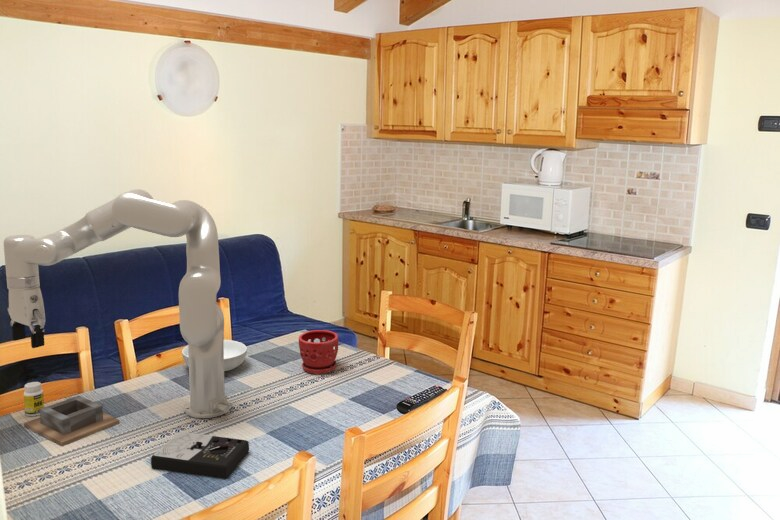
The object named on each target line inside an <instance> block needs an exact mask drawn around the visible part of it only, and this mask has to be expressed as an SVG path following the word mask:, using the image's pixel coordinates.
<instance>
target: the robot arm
mask: <svg viewBox="0 0 780 520" xmlns="http://www.w3.org/2000/svg"><path fill="white" fill-rule="evenodd" d="M130 228H133V229H137V230H140V231H145V232H149V233H151V234H156V235H160V236H163V237H169V238H180V237H183V236H186V237H185V238H186V248H185V249H186V250H185V253H186V254H185V255H186V272H185V275H183V277H182V279H181V280H180V282H179V287H178V310H179V330H180V334H181V336H182V338H183V339H184V341H185V342H187V346H188V354H189V366H188V379H189V380H188V383H189V384H188V385H189V402H187V403H186V404H185V406H184V412H185V414H186V415H187V416H189V417H192V418H196V419H209V418H211V419H212V418H216V417H220V416H222V415H224V414H227V413H229V411H230V409H231V408H232V407H233V403H232V402H231V401H230V400H229V399H228V395H226V393H225V391H226V390H225V372H224V340H225V338H224V337H225V335H224V334H225V333H224V332H225V317H224V312H223V310H222V308H221V306H220V305H219V304H218V303H217V294H218V292H219V290H220V288H221V283H222V282H221V280H222V279H221V272H220V271H221V269H220V268H221V267H220V266H221V265H220V249H219V234H218V229H217V225H216V222H215V220H214V218H213V216H212V215H211V213H210V212H209V210H207V209H206V208H205V207H203V206H202V205H200V204H199V203H197V202H194V201H191V200H187V199H182V200H177V201H174V202H172V203H170V202H164V201H160V200H156V199H154V197H153V196H152V195H151V194H150V193H149V192H148V191H147V190H143V189H140V188H139V189H137V188H136V189H131V190H128V191H125V192H123V193H120V194H119V195H118V196H116V197H115V198H113V199H111V200H110V201H107V202H106V203H104V204H101V205H99V206H97V207H95V208H94V209H91V210H90V211H88V212H86V214H85V215H84V216H83V217H82V218H80V219H78V220H77V221H75V222H73V223H71V224H70V225H68V226H65V227H63V228H61V229H59V230H57V231H55V232H53V233H49V234H47V235H44V236H41V237H37V238H36V237H34V236H33V235H31V234H16V235H14V234H13V235H10V236H7V237H5V238H4V240H3V253H4V254H3V255H4V264H5V275H6V278H5V279H6V287H7V290H8V307H7V312H8V315H9V316H8V319H9V320H10V323H9V324H10V327H11V336H12V337H11V338H12V341H14V342H15V341H19V340H24V339H26V327H25V326H28V327H29V330H30V331H31V333H30V343H31V344H30V345H31V348H32V349H35V348H40V347H45V328H46V313H45V306H44V305H45V303H44V298H43V294H42V290H41V287H40V286H41V285H40V284H41V283H40V272H39V271H40V270H39V266H44V267H45V266H46V267H48V266H53V265H56V264H57V263H60V262H61V261H64V260H65V259H67V258H69V257H71V256H73V255H75V254H77V253H79V252H82V251H83V250H85V249H86V248H89V247H90V246H93V245H95V244H96V243H99V242H105V241H107V240H109V239H111V238H112V237H115V236H116V235H119V234H121V233H123V232H124V231H127V230H128V229H130Z"/></svg>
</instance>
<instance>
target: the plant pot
mask: <svg viewBox="0 0 780 520" xmlns="http://www.w3.org/2000/svg"><path fill="white" fill-rule="evenodd" d="M323 338H325V340H323ZM316 339H318V340H319V342H315V340H316ZM309 340H310V341H309ZM298 347H299V354H300V357H301V360H302V364H301V367H302V369H303V370H304V371H305V372H307V373H309V374H314V375H315V374H316V375H321V374H327V372H328V373H331V372H332V371H333V370H335V369H336V367H337V361H336V359H337V356H338V352H339V335H338V333H336V332H335V331H331V330H327V329H325V330H324V329H323V330H322V329H316V330H315V329H313V330H309V331H306V332H303V333H300V335H299V336H298Z"/></svg>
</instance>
